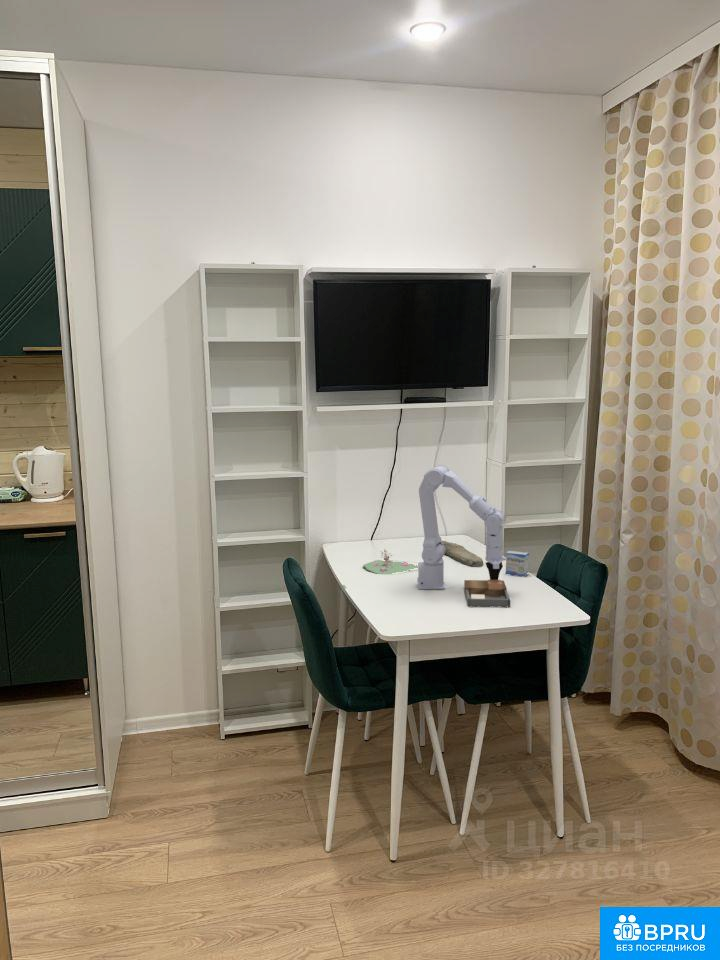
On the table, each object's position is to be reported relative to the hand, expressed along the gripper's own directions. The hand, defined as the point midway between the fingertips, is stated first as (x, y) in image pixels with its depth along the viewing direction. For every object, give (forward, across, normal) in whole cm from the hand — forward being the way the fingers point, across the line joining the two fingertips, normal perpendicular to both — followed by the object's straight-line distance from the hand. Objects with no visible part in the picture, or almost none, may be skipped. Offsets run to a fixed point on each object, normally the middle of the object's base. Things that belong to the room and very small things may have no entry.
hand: (493, 583), depth 263 cm
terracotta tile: (0, -3, 0) cm, 3 cm away
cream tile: (+1, -11, +6) cm, 13 cm away
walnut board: (+3, 0, +3) cm, 5 cm away
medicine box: (+4, +23, -11) cm, 26 cm away
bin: (+3, -10, +3) cm, 11 cm away
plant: (+4, +32, +36) cm, 48 cm away
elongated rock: (+4, +48, +10) cm, 49 cm away
